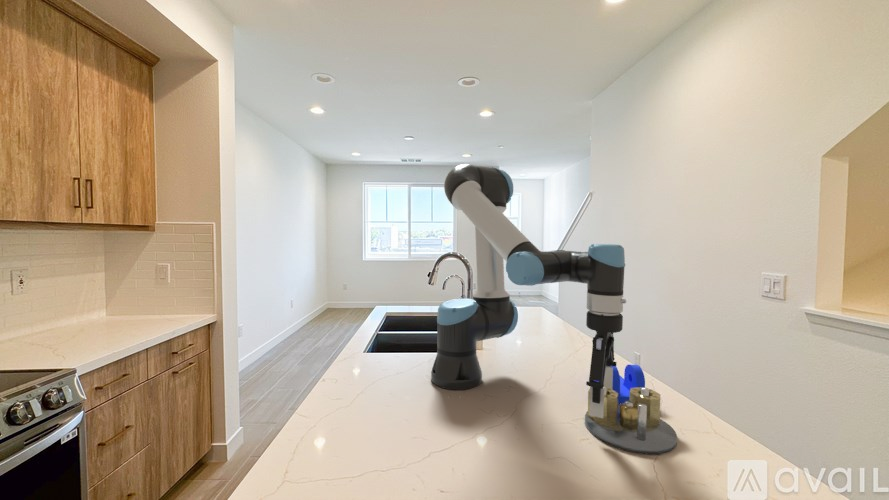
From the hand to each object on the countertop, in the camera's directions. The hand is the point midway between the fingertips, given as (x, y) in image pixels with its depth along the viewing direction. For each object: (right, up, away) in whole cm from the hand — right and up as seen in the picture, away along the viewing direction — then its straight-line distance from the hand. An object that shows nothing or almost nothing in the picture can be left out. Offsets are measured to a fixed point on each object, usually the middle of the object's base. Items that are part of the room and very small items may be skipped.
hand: (601, 403), depth 82 cm
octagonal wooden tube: (0, -3, 0) cm, 3 cm away
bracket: (+11, -4, +18) cm, 22 cm away
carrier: (+5, -5, -3) cm, 7 cm away
